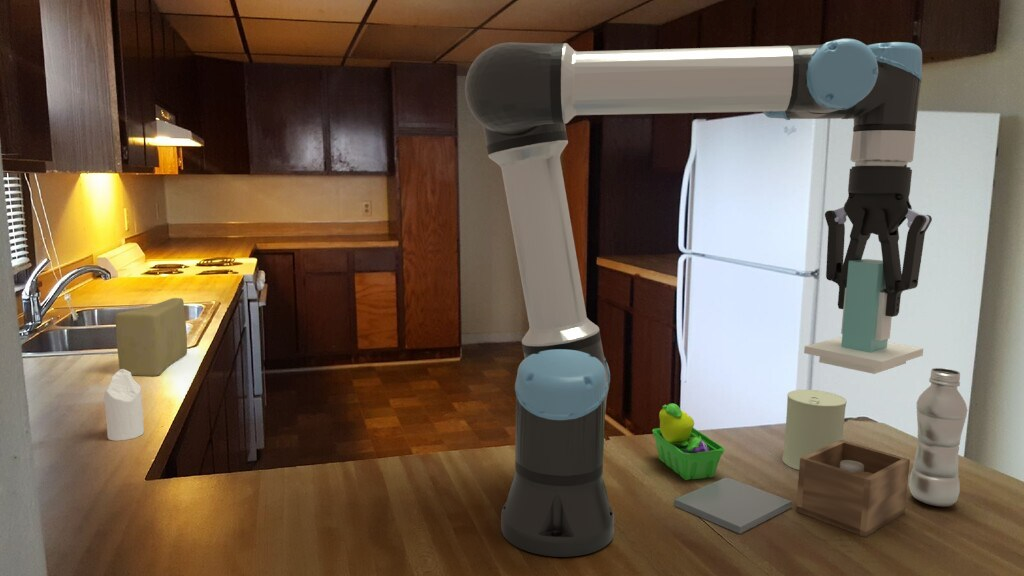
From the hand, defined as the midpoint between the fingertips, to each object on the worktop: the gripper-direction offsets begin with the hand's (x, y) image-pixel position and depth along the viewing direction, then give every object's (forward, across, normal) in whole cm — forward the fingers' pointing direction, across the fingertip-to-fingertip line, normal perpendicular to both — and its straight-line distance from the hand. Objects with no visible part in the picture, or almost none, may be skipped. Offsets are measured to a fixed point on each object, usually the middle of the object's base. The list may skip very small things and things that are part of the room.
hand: (865, 335), depth 104 cm
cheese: (+27, +144, +54) cm, 156 cm away
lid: (+4, 0, 0) cm, 4 cm away
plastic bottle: (+26, -6, -13) cm, 30 cm away
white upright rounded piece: (+26, +96, +73) cm, 123 cm away
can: (+26, +13, -13) cm, 32 cm away
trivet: (+26, +11, +12) cm, 31 cm away
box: (+26, 0, 0) cm, 26 cm away
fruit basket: (+26, +25, +6) cm, 37 cm away
